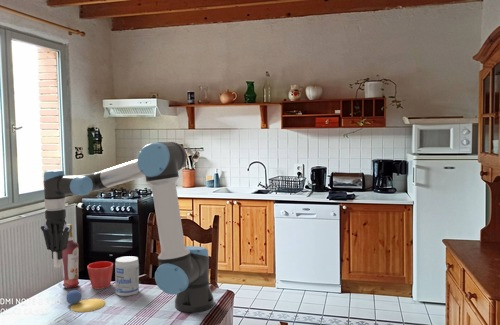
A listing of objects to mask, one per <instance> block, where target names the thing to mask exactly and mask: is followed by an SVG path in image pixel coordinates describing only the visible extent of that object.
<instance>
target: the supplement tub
mask: <svg viewBox="0 0 500 325" xmlns="http://www.w3.org/2000/svg"><path fill="white" fill-rule="evenodd" d="M139 263H140V262H139V257H138V256H132V255H131V256H130V255H129V256H127V255H126V256H120V257H117V258H115V263H114V265H115V266H114V268H115V272H114V273H115V276H114V277H115V282H114V283H115V294H116V295H118V296H120V297H129V296H133V295H136V294H138V292H139V291H140V290H139V289H140V280H139V279H140V278H139V276H140V275H139V274H140V271H139Z"/></svg>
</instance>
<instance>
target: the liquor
mask: <svg viewBox="0 0 500 325" xmlns="http://www.w3.org/2000/svg"><path fill="white" fill-rule="evenodd" d="M66 225H68V226H71V227H72V228H71V230H70V233H69V238H68V244H67V249H65V250H63V251H62V257H63V258H62V259H61V266H62V276H63V283H62V286H63V287H64V288H65V289H69V290H70V289H75V288H77V287H78V286H79V285H80V282H79V248H80V247H79V243H78V242H76V241H74V238H73V223H66Z"/></svg>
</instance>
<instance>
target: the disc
mask: <svg viewBox="0 0 500 325" xmlns="http://www.w3.org/2000/svg"><path fill="white" fill-rule="evenodd" d="M106 304H107V303H106V301H105V299H100V298H87V299H81V300H80V301H79V302H78V303H77V304H70V310H71V311H73V312H77V313H88V312H94V311H97V310H99V309H101V308H103V307H105V306H106Z"/></svg>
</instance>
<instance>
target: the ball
mask: <svg viewBox="0 0 500 325" xmlns="http://www.w3.org/2000/svg"><path fill="white" fill-rule="evenodd" d="M79 301H82V293H81V291H79V290H76V289H74V290H70V291H69V292H68V293H67V294H66V302H68V304H70V305H73V304H77V303H78V302H79Z"/></svg>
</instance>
